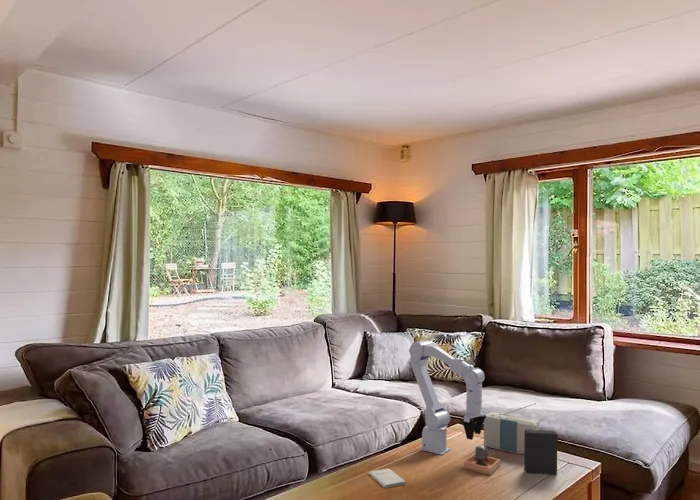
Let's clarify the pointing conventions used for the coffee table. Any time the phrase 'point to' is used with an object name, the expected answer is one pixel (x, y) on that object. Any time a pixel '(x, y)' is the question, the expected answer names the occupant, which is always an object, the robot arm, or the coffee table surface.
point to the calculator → (540, 452)
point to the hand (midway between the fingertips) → (473, 436)
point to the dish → (470, 465)
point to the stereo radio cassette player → (507, 431)
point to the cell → (482, 456)
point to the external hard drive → (387, 478)
